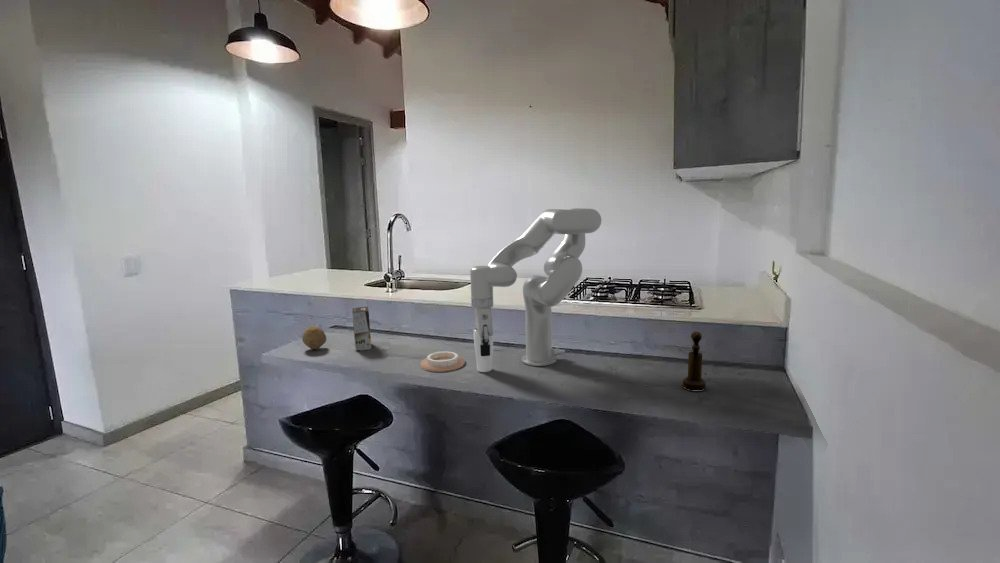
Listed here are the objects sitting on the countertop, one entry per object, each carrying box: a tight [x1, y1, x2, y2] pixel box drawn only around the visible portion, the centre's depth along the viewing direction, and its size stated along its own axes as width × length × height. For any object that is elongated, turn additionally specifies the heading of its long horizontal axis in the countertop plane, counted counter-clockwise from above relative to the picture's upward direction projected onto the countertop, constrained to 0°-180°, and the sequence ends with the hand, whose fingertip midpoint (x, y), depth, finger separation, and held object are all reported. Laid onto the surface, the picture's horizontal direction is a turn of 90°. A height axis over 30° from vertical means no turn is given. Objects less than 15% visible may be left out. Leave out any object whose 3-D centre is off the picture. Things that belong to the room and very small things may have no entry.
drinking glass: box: [473, 327, 494, 373], centre depth 168 cm, size 7×7×15 cm
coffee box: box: [352, 306, 372, 351], centre depth 198 cm, size 9×6×16 cm
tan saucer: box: [420, 351, 466, 373], centre depth 176 cm, size 16×16×3 cm
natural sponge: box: [302, 325, 327, 350], centre depth 197 cm, size 9×9×10 cm
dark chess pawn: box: [682, 330, 707, 390], centre depth 148 cm, size 7×6×18 cm
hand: (483, 352), depth 168 cm, fingers closed on drinking glass, 6 cm apart
